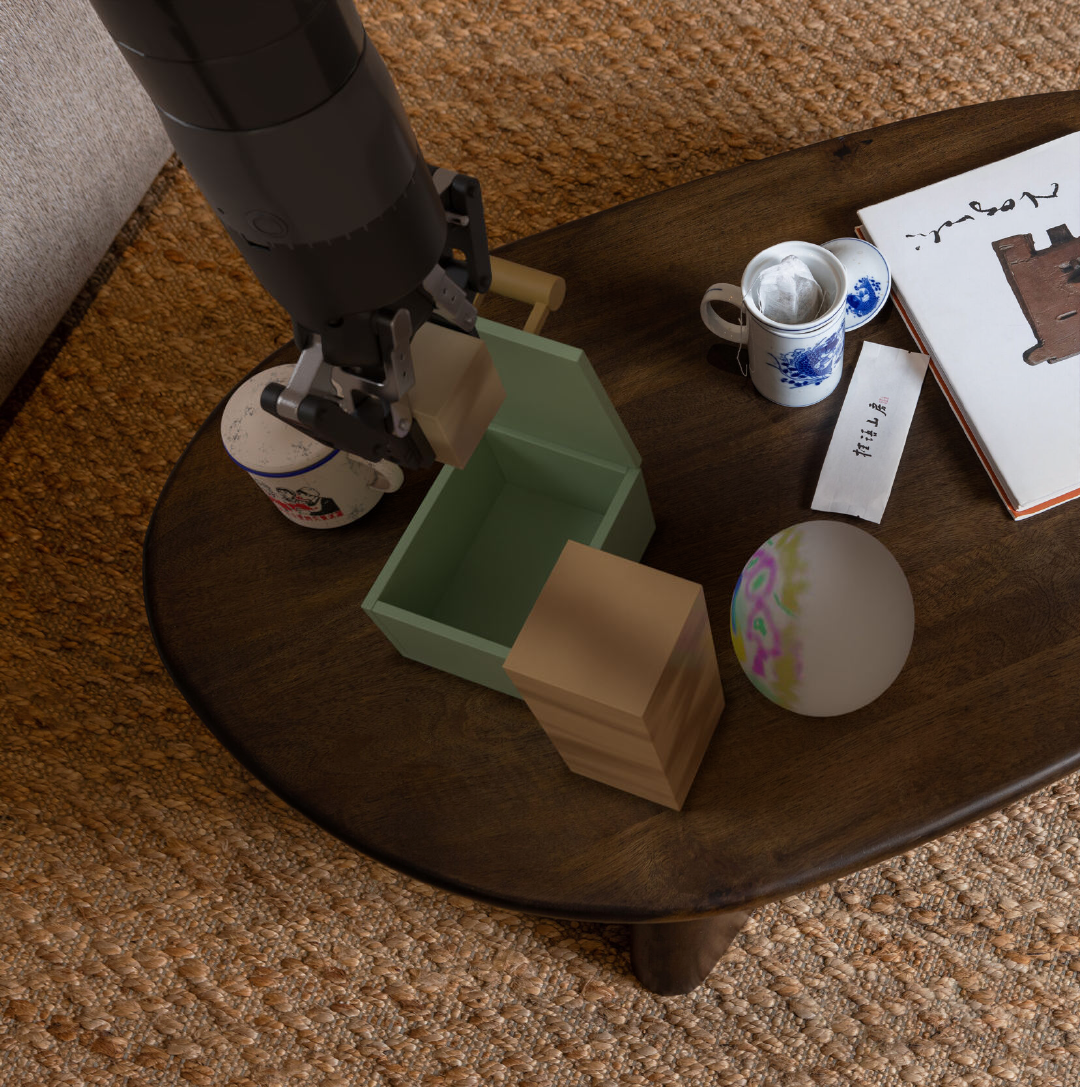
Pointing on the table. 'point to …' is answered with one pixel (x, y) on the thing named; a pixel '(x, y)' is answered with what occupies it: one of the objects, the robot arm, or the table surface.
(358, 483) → the teacup with lid
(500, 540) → the chest
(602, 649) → the stand
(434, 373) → the block
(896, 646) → the decorative egg
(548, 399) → the lid
